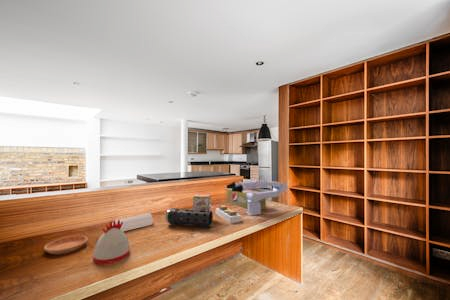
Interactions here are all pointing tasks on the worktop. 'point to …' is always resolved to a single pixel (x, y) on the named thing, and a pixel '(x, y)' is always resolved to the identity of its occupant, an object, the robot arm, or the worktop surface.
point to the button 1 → (223, 207)
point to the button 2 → (232, 213)
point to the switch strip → (228, 216)
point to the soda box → (241, 198)
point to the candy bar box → (201, 202)
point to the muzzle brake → (189, 217)
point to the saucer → (65, 245)
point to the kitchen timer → (111, 245)
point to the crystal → (135, 221)
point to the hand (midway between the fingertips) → (229, 188)
